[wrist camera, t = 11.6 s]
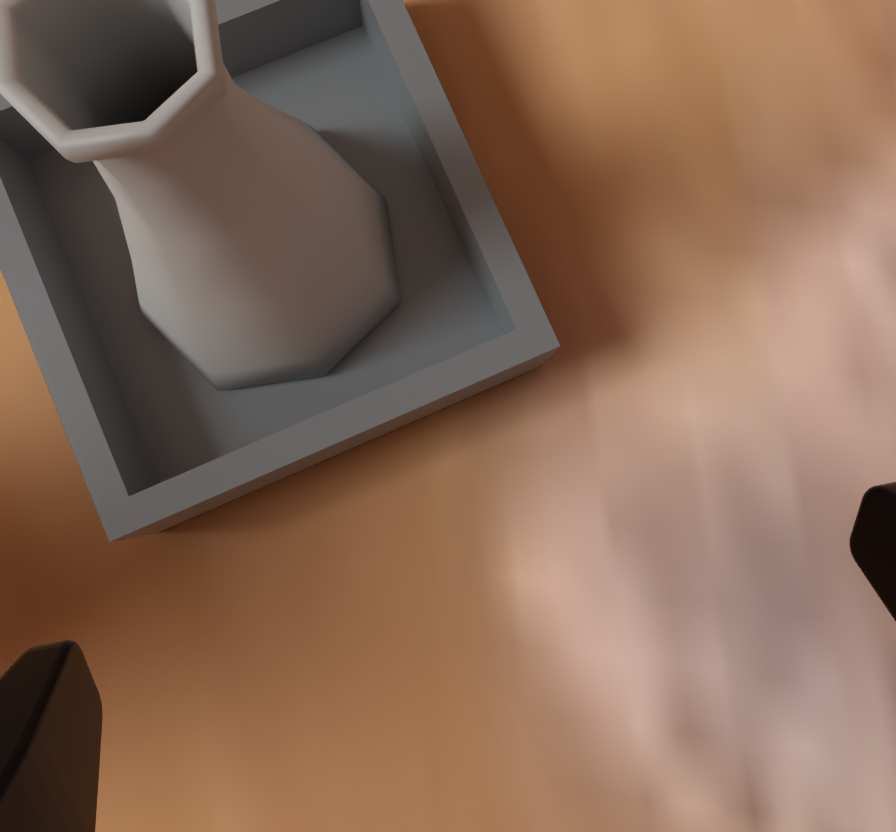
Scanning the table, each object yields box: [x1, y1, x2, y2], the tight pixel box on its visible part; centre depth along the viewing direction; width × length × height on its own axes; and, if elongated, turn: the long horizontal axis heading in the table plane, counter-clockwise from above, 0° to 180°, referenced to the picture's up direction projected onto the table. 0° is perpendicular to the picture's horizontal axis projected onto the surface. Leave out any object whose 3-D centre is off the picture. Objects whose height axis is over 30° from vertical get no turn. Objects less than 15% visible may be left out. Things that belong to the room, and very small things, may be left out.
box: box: [0, 0, 560, 542], centre depth 19 cm, size 12×12×3 cm
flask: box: [0, 0, 401, 391], centre depth 15 cm, size 7×7×10 cm
